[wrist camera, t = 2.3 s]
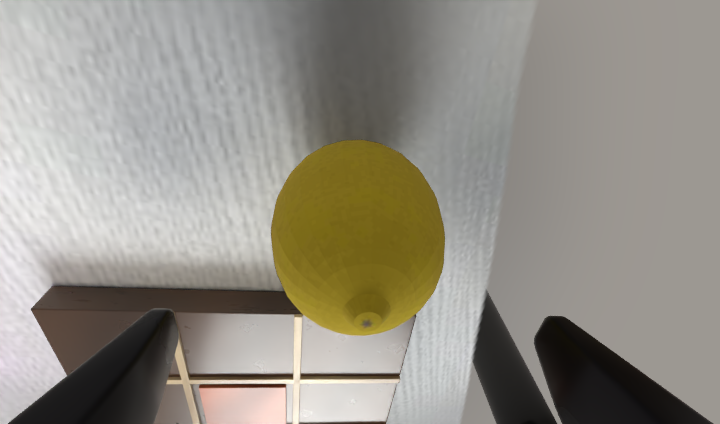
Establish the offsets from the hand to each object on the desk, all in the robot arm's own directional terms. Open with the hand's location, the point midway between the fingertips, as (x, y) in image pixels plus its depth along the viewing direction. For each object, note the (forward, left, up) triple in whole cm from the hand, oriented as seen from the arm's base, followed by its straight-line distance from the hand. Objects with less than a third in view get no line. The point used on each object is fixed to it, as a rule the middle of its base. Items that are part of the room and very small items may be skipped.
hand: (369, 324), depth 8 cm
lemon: (0, 0, -8) cm, 8 cm away
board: (+5, +15, -8) cm, 18 cm away
